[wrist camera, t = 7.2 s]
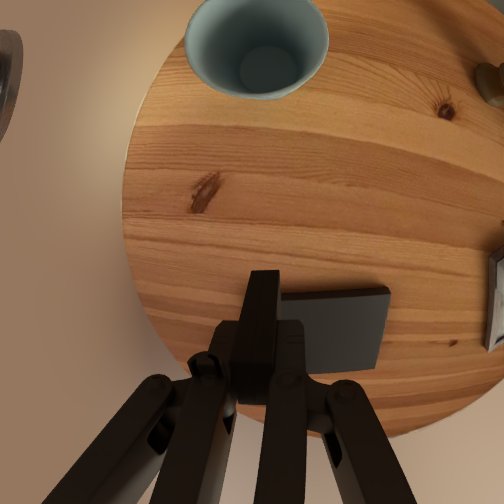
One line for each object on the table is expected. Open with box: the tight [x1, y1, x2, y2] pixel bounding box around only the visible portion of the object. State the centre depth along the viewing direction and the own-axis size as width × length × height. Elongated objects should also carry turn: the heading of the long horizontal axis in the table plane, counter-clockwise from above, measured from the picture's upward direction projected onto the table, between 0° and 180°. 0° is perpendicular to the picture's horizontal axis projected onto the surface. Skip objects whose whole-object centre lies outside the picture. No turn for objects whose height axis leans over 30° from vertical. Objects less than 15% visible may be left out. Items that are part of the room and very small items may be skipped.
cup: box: [184, 0, 329, 100], centre depth 15 cm, size 8×8×10 cm
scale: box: [281, 287, 391, 374], centre depth 30 cm, size 15×13×3 cm
